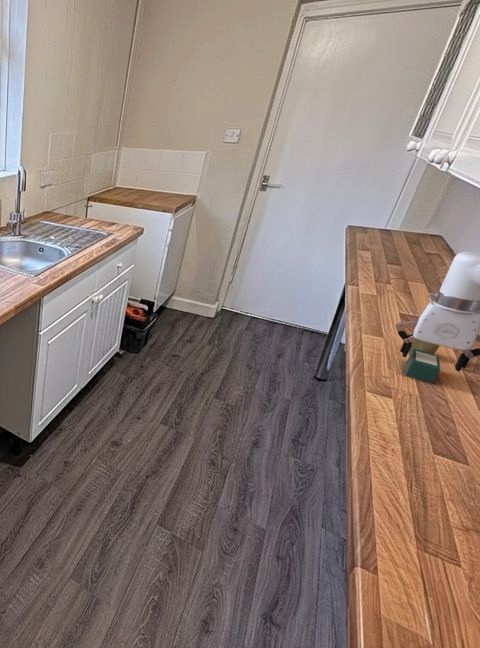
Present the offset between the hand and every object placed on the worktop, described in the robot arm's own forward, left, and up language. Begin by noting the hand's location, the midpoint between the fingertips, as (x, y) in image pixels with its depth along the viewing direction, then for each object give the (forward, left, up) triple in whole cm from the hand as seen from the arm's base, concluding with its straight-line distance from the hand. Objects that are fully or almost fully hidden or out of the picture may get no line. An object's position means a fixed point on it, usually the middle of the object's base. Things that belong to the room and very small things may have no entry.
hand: (429, 361), depth 108 cm
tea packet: (+1, 0, -4) cm, 4 cm away
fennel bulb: (+8, -12, -4) cm, 15 cm away
